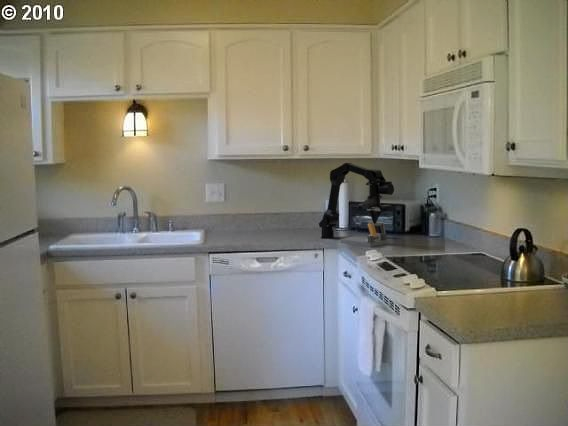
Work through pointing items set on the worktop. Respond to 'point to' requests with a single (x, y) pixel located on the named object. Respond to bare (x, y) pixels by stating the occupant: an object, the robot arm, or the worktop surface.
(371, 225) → the breaker
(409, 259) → the worktop surface
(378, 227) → the electrical switch
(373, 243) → the breaker panel
